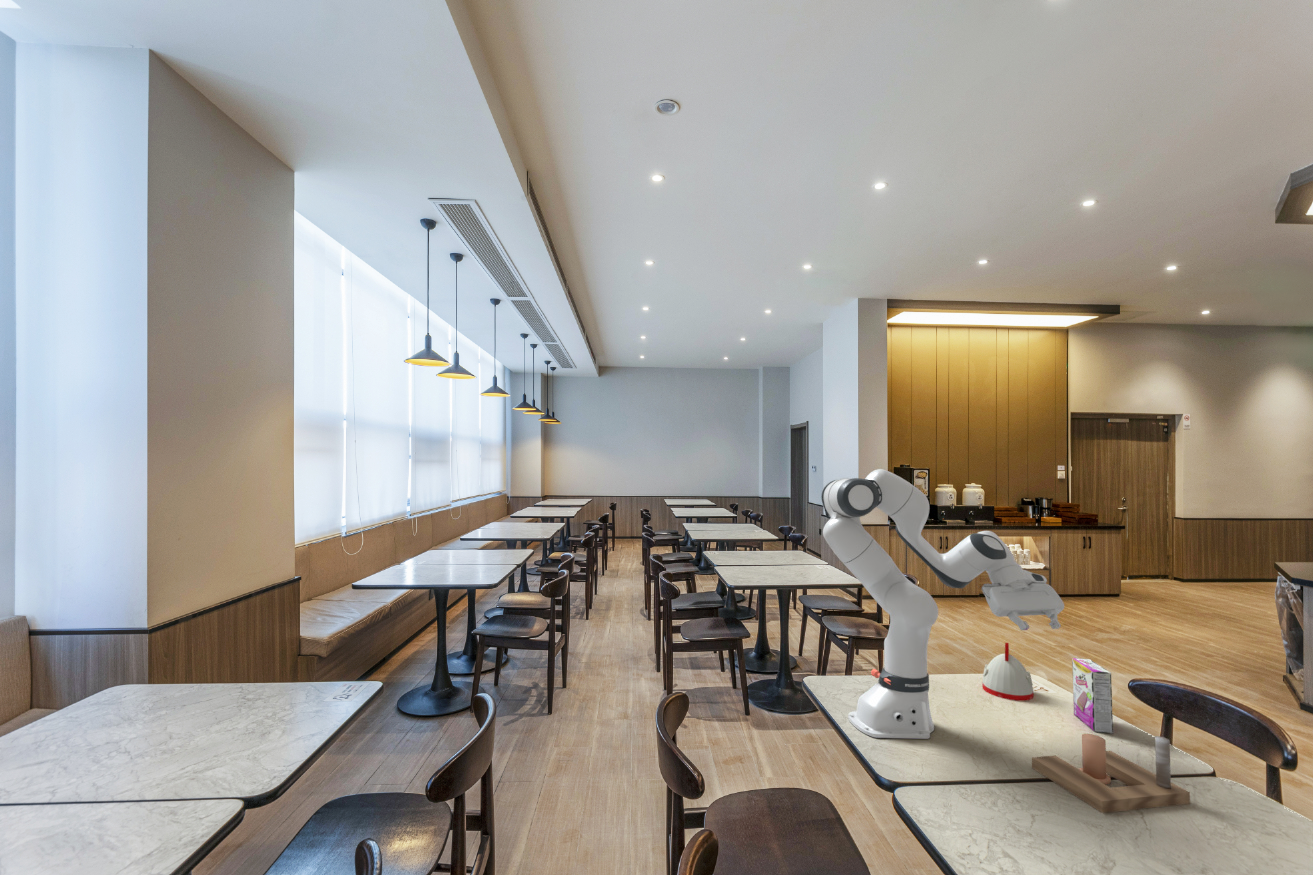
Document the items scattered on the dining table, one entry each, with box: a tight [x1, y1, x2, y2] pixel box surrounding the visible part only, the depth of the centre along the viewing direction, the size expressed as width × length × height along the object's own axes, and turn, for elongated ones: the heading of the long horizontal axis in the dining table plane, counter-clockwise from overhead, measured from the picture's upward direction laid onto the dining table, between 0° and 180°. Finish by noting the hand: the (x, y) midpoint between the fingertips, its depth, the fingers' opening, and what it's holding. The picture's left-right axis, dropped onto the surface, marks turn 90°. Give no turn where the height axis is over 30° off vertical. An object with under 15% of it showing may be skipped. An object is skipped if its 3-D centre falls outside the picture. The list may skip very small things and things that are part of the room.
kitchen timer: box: [981, 642, 1034, 702], centre depth 184 cm, size 14×14×15 cm
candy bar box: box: [1071, 657, 1114, 734], centre depth 161 cm, size 11×5×16 cm, turn 168°
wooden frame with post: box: [1031, 735, 1191, 814], centre depth 131 cm, size 22×18×12 cm
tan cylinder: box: [1078, 733, 1112, 786], centre depth 133 cm, size 6×6×9 cm
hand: (1041, 628), depth 151 cm, fingers open, 8 cm apart
